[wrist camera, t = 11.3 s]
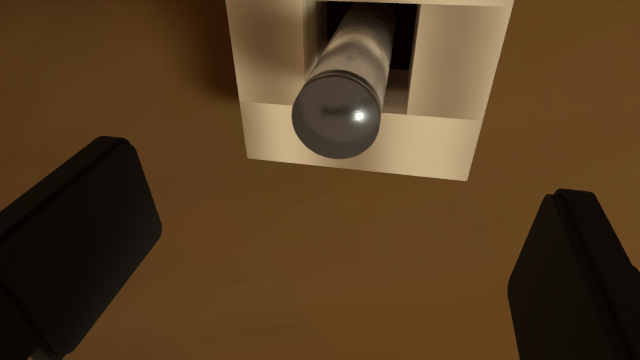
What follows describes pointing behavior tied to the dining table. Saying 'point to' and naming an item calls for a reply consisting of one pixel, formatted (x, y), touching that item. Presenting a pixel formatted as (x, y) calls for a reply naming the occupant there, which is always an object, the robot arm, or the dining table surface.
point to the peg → (347, 84)
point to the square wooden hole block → (401, 89)
